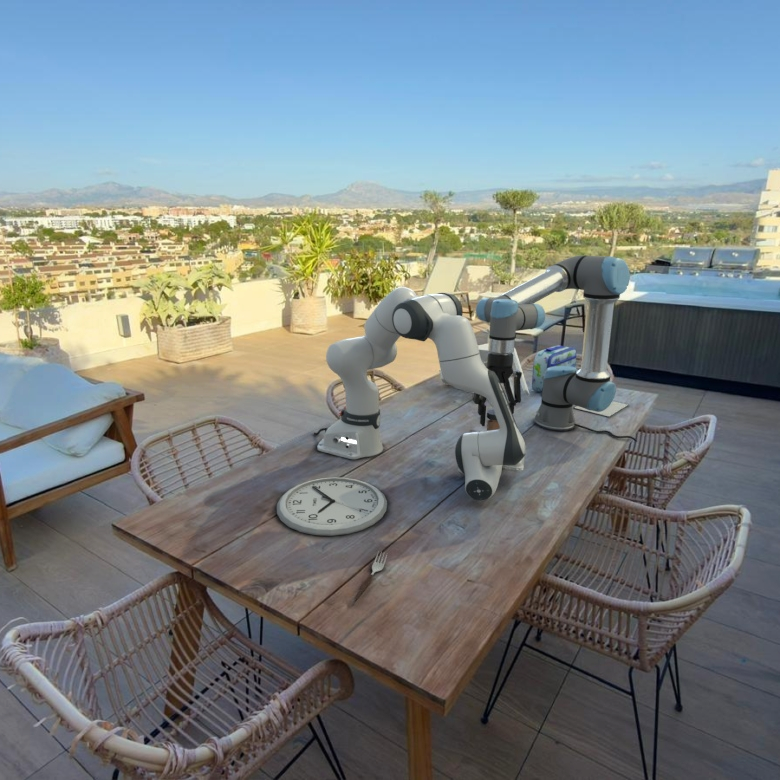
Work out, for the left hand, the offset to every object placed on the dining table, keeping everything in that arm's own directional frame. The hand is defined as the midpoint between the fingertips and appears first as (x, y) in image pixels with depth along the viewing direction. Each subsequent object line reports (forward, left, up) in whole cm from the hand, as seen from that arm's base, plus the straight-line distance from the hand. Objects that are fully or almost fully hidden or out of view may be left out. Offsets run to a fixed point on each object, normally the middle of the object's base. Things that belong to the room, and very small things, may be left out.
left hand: (493, 448), depth 165 cm
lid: (0, -1, +12) cm, 12 cm away
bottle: (0, -1, -7) cm, 7 cm away
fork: (-17, -66, -7) cm, 68 cm away
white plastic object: (-16, +78, -7) cm, 80 cm away
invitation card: (+37, +76, -7) cm, 85 cm away
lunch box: (+16, +94, -7) cm, 95 cm away
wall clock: (-38, -39, -7) cm, 55 cm away
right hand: (0, -1, +8) cm, 9 cm away
